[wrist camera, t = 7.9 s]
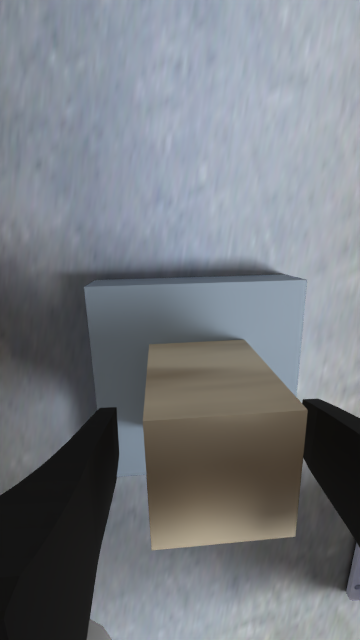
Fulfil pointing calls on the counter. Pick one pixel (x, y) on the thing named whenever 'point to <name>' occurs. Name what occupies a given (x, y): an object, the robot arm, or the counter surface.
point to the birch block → (219, 446)
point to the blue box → (184, 335)
